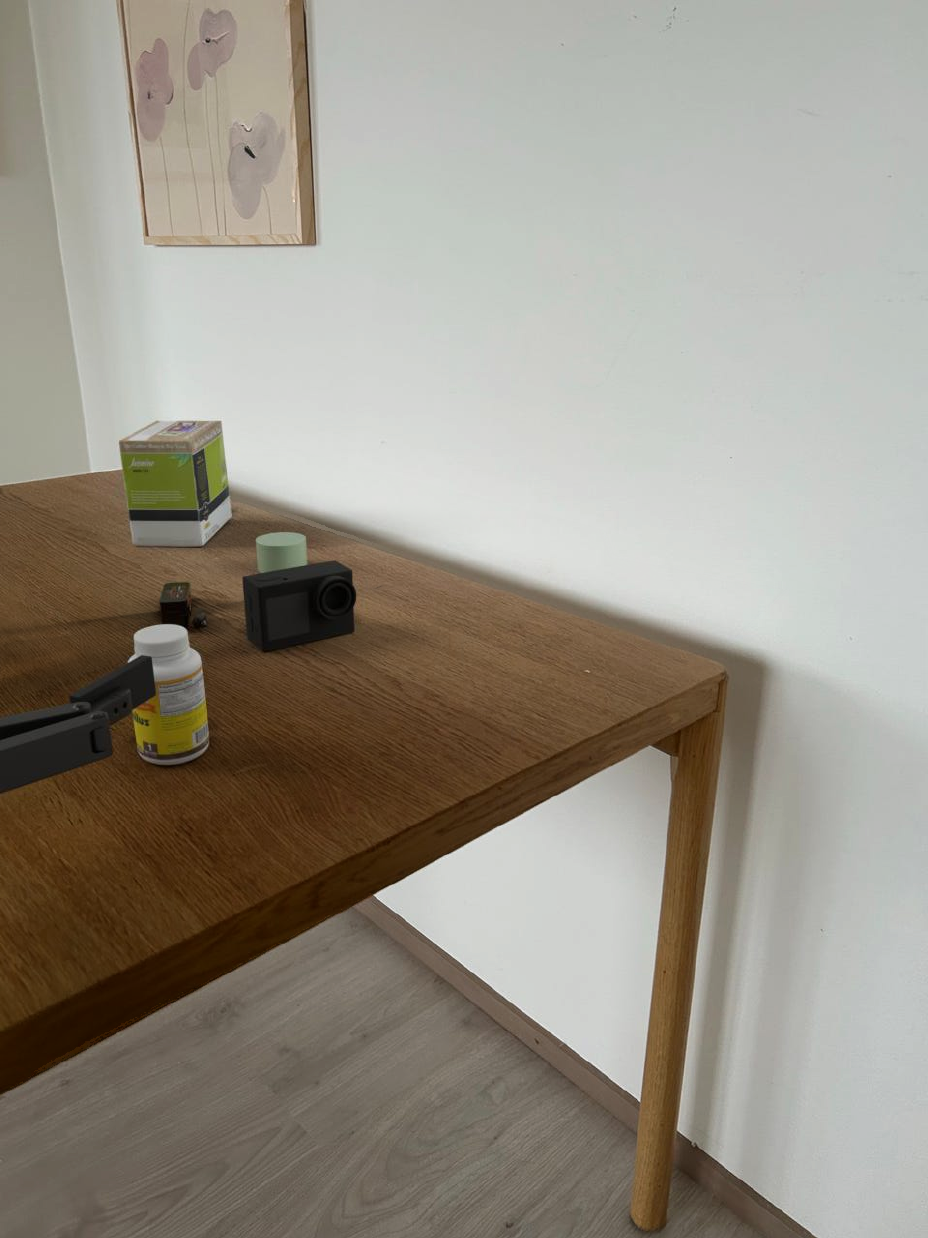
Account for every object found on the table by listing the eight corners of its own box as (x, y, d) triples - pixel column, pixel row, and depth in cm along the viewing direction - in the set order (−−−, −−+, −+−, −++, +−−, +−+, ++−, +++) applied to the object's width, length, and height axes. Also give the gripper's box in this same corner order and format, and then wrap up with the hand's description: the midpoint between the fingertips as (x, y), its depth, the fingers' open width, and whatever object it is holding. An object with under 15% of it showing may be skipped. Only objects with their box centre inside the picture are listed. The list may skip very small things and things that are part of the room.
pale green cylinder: (254, 573, 118) (251, 534, 117) (302, 568, 121) (300, 530, 119) (263, 588, 113) (260, 548, 111) (313, 582, 115) (311, 543, 114)
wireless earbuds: (161, 634, 100) (158, 605, 98) (167, 610, 106) (164, 583, 105) (207, 631, 100) (204, 602, 99) (210, 608, 107) (207, 580, 106)
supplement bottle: (132, 743, 78) (117, 626, 74) (201, 729, 80) (190, 615, 76) (144, 775, 73) (128, 651, 69) (217, 759, 75) (205, 639, 72)
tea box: (167, 517, 143) (156, 418, 137) (233, 519, 142) (225, 419, 137) (130, 547, 129) (116, 437, 123) (203, 548, 128) (193, 438, 123)
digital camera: (266, 657, 94) (261, 590, 92) (246, 639, 98) (241, 575, 96) (360, 636, 99) (358, 572, 97) (337, 620, 104) (334, 558, 101)
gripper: (-403, 838, 50) (-66, 682, 69) (-45, 955, 42) (229, 742, 61) (-451, 710, 48) (-86, 584, 66) (-78, 808, 39) (219, 632, 58)
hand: (65, 659), depth 64 cm, fingers open, 13 cm apart
